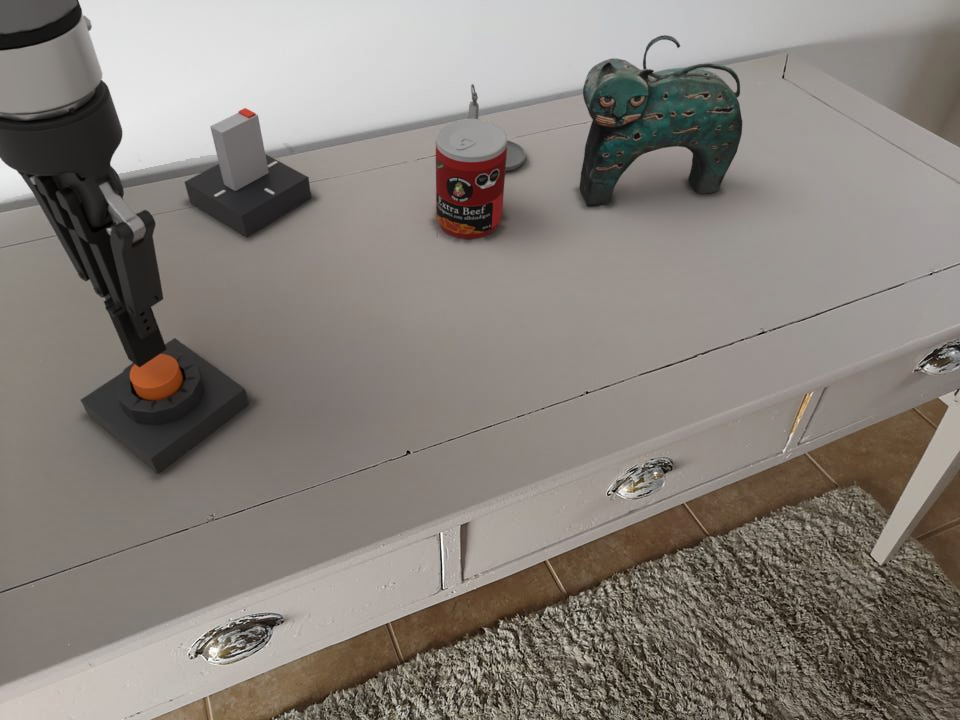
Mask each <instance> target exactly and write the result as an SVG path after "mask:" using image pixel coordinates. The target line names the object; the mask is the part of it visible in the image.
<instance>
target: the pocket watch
mask: <svg viewBox="0 0 960 720" xmlns="http://www.w3.org/2000/svg"><path fill="white" fill-rule="evenodd" d="M470 93H471V101H470V102H469V104H468V116H467V117H468V118H467V119H479V108H480V107H479V103H478V99H479V96H478V93H477V92H476V88H475V85H474V84H473V83H471V85H470ZM525 158H526V151H525V150H524V148H523V147H522V146H521V144H518V143H516V142H515V141H511V140H508V139H507V156H506V169H505V172H507V171H513V170H515V169H518V168H519V167H520V166H522V164H524V162H525Z"/></svg>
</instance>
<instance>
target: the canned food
mask: <svg viewBox="0 0 960 720" xmlns="http://www.w3.org/2000/svg"><path fill="white" fill-rule="evenodd" d="M507 136H508V135H507V133H506V131H505V130H504V129H503V128H502V126H500V125H499V124H496V123H494V122H493V121H489V120H486V119H481V118H478V119H468V118H462V119H457V120H453V121H451V122H448V123H446V124H445V125H443V126H442V127H441V128H439V130H438V131H437V133H436V138H435V216H436V220H437V222H438V225H439V226H440V228H441V229H442V231H444V232H445V233H447V234H448V235H450V236H453V237H456V238H459V239H477V238H482V237H485V236H487V235H489V234H491V233H492V232H494V231H495V230H496V229H497V228H498V226H499V224H500V222H501V220H502V216H503V207H504V206H503V204H504V192H505V180H506V171H505V169H506V156H507V140H508V137H507Z"/></svg>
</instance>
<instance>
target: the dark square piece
mask: <svg viewBox="0 0 960 720" xmlns="http://www.w3.org/2000/svg"><path fill="white" fill-rule="evenodd" d="M165 346H166V349H167V350H165V351H164V352H162V353H161V354H166V355H169V356H171V357H173V358H174V359H175V360H176V361H177V363H178V365H179V368H180V371H181V374H182V376H183V382H182V385H181V387H180V389H179V390H178V391H177V392H176V393H175V394H173V395H172V396H170V397H168V398H165V399H161V400H158V401H149V400H145V399H143V398H141V397H140V396H138V395H137V393H136V391H135V389H134V387H133V384H132V382H131V380H130V371H131V369H132V367H133V365H134V363H133V362H131V364H129V365H128V366H127V367H125V368H123V371H122V372H121V373H119V374H118V375H115V376H114V377H112V378H111V379H110V380H108V381H107V382H105V383H104V384H102V385H101V386H99V387H98V388H96V389H94V390H93V391H91V392H90V393H89V394H87V395H85V396H84V397H83V398H80V402H81V404H82V406H83V408H84V409H85V411H86V413H87V416H89V418H91V419H92V420H93V421H94V422H95V423H96V424H98V425H99V426H100V427H101V428H102V429H104V430H105V431H106V432H107V433H108V434H110V435H111V436H112V437H114V439H115V440H117V441H118V442H119V443H121V445H123V446H124V447H125V448H126V449H127V450H129V451H130V452H131V453H132V454H133V455H134V456H136V457H137V458H138V459H139V460H141V462H143V463H144V464H145V465H146V466H147V467H149V468H150V469H151V470H152V471H154V472H155V473H156V474H157V475H158V474H160V473H162V472H163V470H165V469H166V468H168V467H169V466H170V465H171V464H173V463H174V462H175V461H177V460H178V459H179V458H181V457H182V456H183V455H185V454H186V453H187V452H188V451H190V450H191V449H192V448H194V447H195V446H197V444H199V443H200V442H202V441H203V440H204V439H206V438H207V437H208V436H209V435H211V434H212V433H214V432H215V431H216V430H217V429H219V428H220V427H221V426H222V425H224V424H226V423H227V422H228V421H229V420H231V419H232V418H233V417H234V416H236V415H237V414H238V413H240V412H241V411H243V409H245V408H246V407H247V406H249V405H250V402H249V398H248V395H247V391H246V388H244V387H243V386H242V385H241V384H239V383H237V382H236V381H235V380H234V379H232V378H231V377H230V376H228V375H226V374H225V373H224V372H223V371H222V370H220V369H219V368H217V367H216V366H215V365H213V364H212V363H210V362H209V361H207V360H206V359H205V358H203V357H202V356H200V355H199V354H198V353H196V352H195V351H194V350H192V348H189V347H188V346H187V345H185V344H184V343H182V342H181V341H179V340H178V339H177V338H176V337H174V338H173V339H171V340H169V341H168V342H166V343H165Z"/></svg>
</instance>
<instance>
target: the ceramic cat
mask: <svg viewBox="0 0 960 720" xmlns="http://www.w3.org/2000/svg"><path fill="white" fill-rule="evenodd" d="M659 41H670V42H673V43H674V44H675V45H676V48H677V49H679V48H680V47H681V44H680V42H679V41H678V39H677V38H675V37H674V36H671V35H666V34H664V35H659V36H657V37H655V38H653V39H651V40H650V41H649V42H648V43H647V45H646V47H645V51H644V53H643V59H642V68H643V69H640V68H638V67H637V66H636V65H634V64H632V63H631V62H629V61H627V60H626V59H621V58H615V57H614V58H608V59H605V60H603V61H601V62H598V63H597V64H595V65H594V66H593V67H591V68H590V70H589V71H588V73H587V75H586V77H585V81H584V84H583V88H582V97H583V101H584V103H585V106H586V108H587V111H588V114H589V116H590V118H591V120H592V121H591V124H590V128H589V131H588V134H587V138H586V142H585V145H584V153H583V154H584V155H583V161H582V165H581V171H580V180H579V188H578V189H579V192H580V195H581V197H582V198H583V200H584V203H585V205H586V207H590V206H603V205H607V204H609V203H610V200H611V198H612V195H613V192H614V190H615V188H616V185H617V183H618V182H619V181H620V178H621V177H622V175H623V174H624V173H625V172H626V171H627V169H628V168H629V167H630V166H631V165H632V164H633V163H634V161H636V160H637V159H638V158H639V157H640V156H642V155H645V154H648V153H650V152H654V151H656V150H661V149H666V148H674V147H675V148H676V147H679V148H685V149H688V151H690V152H691V154H692V159H691V166H690V167H691V168H690V173H689V175H688V184H689V185H690V186H691V188H692V189H693V190H694V191H695V193H698V194H701V195H706V194H712V193H715V192H718V191H719V189H720V187H721V185H722V183H723V180H724V178H725V176H726V174H727V172H728V171H729V168H730V166H731V165H732V162H733V160H734V158H735V157H736V154H737V152H738V149H739V145H740V142H741V138H742V134H743V117H742V112H741V104H740V101H739V99H738V97H739V98H740V95H741V81H740V78H739V76H738V74H737V73H736V72H735V71H734V69H732V68H731V67H728V66H726V65H724V64H723V65H722V64H718V63H699V64H695V65H691V66H688V67H675V68H667V69H661V70H658V71H655V69H651V68H647V55H648V51H649V50H650V49H651V47H652V46H653V45H654V44H656V43H658V42H659ZM702 68H707V69H709V68H710V69H712V70H720V71H724V72H727V74H729V75H730V76H731V77H732V78H733V79H734V81H735V83H736V91H733V89H732V88H731V86H729V85H728V84H727V83H726V82H725V81H724V80H723V79H722V78H721V77H720V76H719V75H717V74H716V73H714V72H712V71H710V70H705V69H702Z"/></svg>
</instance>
